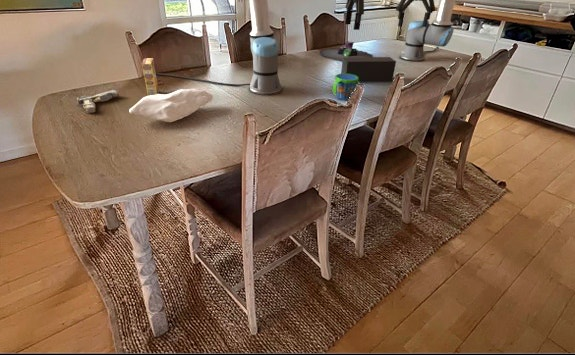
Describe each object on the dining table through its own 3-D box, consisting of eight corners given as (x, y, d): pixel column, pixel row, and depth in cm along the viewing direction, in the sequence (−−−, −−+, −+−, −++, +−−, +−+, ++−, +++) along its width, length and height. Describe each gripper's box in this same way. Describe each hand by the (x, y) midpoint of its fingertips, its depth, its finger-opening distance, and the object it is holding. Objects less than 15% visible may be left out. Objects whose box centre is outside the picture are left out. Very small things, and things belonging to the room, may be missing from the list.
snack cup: (349, 91, 180) (352, 71, 174) (364, 98, 172) (367, 77, 167) (324, 97, 172) (326, 75, 167) (338, 104, 165) (341, 82, 159)
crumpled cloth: (117, 110, 146) (113, 90, 140) (195, 92, 166) (194, 73, 160) (143, 139, 134) (140, 118, 128) (223, 116, 154) (224, 96, 148)
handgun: (128, 97, 156) (111, 87, 164) (86, 107, 144) (70, 97, 152) (129, 103, 157) (113, 94, 165) (88, 114, 146) (72, 103, 154)
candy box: (157, 97, 164) (152, 63, 155) (147, 98, 163) (141, 63, 155) (158, 91, 171) (153, 57, 163) (149, 91, 170) (143, 58, 162)
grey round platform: (383, 57, 237) (385, 42, 233) (344, 64, 220) (345, 48, 215) (347, 49, 262) (348, 36, 257) (309, 54, 245) (309, 40, 240)
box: (345, 82, 193) (347, 61, 187) (340, 77, 200) (342, 57, 194) (392, 81, 197) (396, 61, 191) (386, 76, 204) (389, 56, 198)
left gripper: (376, -19, 160) (367, 32, 171) (357, -24, 180) (351, 22, 192) (360, -20, 158) (352, 31, 170) (343, -25, 179) (337, 22, 190)
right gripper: (401, -22, 167) (392, 27, 178) (450, -20, 172) (438, 28, 183) (394, -23, 173) (386, 25, 184) (441, -21, 178) (430, 25, 189)
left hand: (351, 26), depth 181 cm, fingers open, 13 cm apart
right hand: (412, 26), depth 184 cm, fingers open, 13 cm apart
